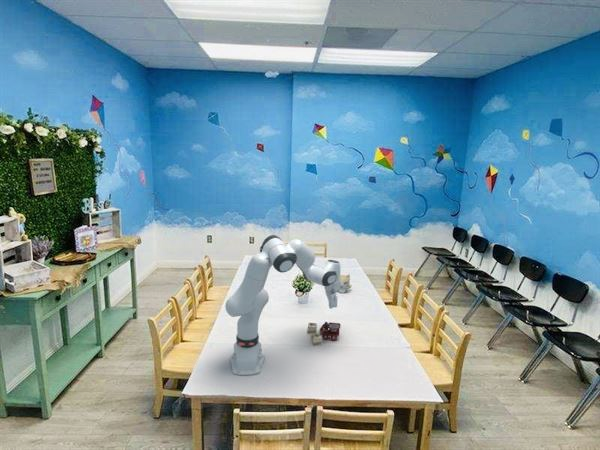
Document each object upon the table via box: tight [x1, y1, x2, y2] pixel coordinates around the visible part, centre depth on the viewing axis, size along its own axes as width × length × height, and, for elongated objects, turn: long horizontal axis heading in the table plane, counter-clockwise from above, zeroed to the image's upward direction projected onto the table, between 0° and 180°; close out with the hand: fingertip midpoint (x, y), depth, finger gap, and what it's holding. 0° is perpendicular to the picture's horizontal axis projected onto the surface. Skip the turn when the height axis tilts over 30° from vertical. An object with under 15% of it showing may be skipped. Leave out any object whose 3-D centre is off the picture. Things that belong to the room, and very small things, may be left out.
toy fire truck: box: [319, 321, 341, 342], centre depth 231 cm, size 7×12×10 cm, turn 80°
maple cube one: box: [310, 332, 323, 347], centre depth 225 cm, size 5×5×5 cm
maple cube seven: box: [307, 322, 318, 335], centre depth 238 cm, size 5×5×5 cm
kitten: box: [337, 274, 353, 294], centre depth 299 cm, size 15×10×15 cm, turn 76°
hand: (330, 307), depth 229 cm, fingers closed
